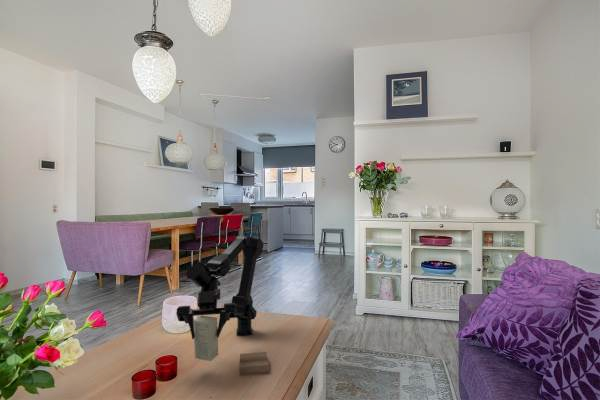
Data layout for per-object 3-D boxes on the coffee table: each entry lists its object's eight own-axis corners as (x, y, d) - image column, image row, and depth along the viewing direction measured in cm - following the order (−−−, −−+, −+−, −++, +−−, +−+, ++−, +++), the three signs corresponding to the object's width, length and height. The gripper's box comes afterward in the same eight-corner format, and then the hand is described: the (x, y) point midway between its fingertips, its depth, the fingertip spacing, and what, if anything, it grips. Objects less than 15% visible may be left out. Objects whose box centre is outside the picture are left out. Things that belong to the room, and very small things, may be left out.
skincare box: (218, 355, 103) (218, 317, 103) (210, 362, 98) (210, 322, 99) (202, 352, 105) (201, 315, 105) (193, 358, 101) (193, 319, 101)
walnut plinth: (239, 361, 109) (239, 354, 109) (266, 359, 110) (266, 351, 110) (239, 375, 100) (239, 367, 100) (268, 372, 101) (268, 364, 101)
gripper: (177, 281, 104) (169, 329, 93) (236, 278, 107) (235, 324, 96) (182, 298, 112) (175, 344, 101) (236, 295, 115) (236, 339, 104)
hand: (205, 338), depth 100 cm, fingers closed on skincare box, 7 cm apart
